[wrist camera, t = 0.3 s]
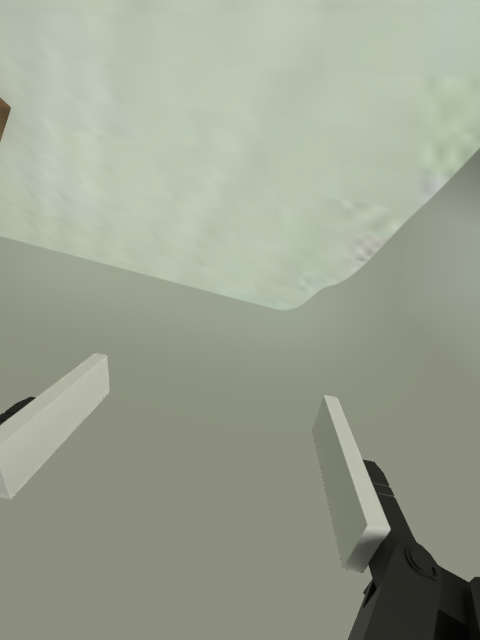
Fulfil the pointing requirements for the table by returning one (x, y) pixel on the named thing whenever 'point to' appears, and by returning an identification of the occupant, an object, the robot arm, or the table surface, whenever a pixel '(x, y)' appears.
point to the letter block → (3, 115)
